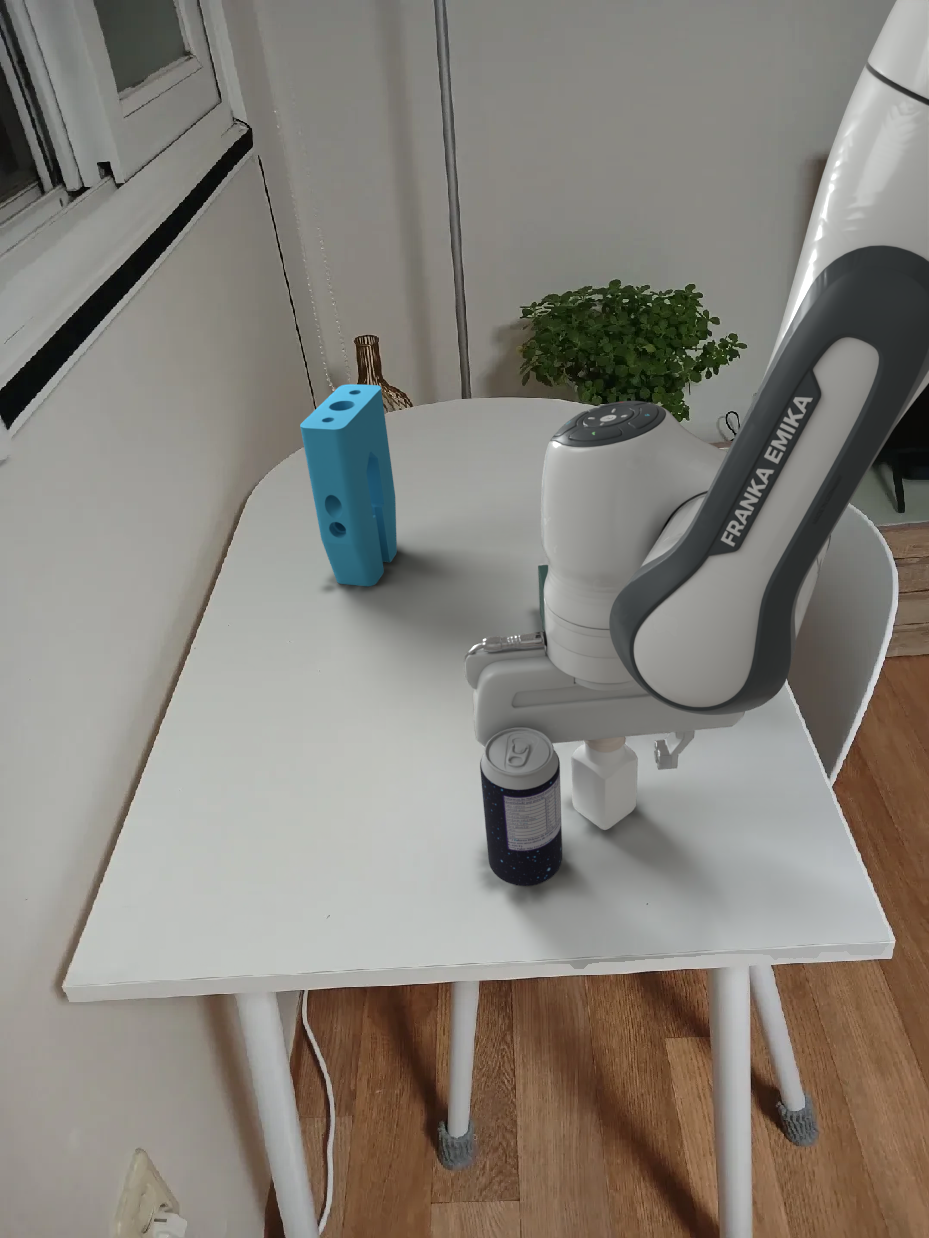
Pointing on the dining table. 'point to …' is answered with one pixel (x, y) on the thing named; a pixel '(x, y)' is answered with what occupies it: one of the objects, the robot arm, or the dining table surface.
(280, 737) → the dining table surface
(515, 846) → the beverage can
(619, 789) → the salt shaker
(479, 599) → the dining table surface
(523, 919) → the dining table surface
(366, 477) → the block
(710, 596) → the robot arm
